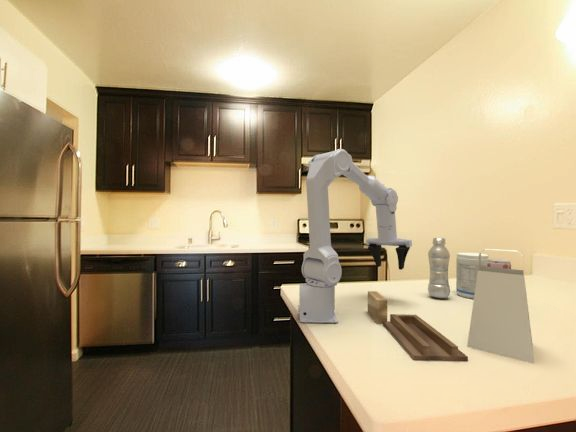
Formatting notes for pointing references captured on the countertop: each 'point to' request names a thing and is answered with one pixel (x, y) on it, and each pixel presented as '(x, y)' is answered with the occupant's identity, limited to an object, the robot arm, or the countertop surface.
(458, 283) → the supplement tub
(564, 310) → the countertop surface
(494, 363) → the countertop surface
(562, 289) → the countertop surface
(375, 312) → the brown wooden block
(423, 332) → the track
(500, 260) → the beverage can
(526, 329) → the grater
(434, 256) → the plastic bottle
